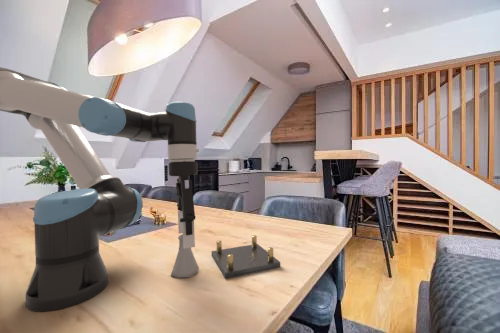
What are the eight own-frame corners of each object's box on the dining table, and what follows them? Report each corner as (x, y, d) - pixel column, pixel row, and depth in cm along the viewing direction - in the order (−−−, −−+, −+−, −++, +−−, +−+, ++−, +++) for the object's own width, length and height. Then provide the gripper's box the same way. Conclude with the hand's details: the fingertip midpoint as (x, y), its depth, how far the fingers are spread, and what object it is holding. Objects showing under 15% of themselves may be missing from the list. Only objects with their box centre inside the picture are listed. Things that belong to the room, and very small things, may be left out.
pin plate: (225, 278, 59) (224, 259, 59) (211, 255, 74) (211, 240, 73) (280, 267, 65) (280, 249, 65) (257, 248, 79) (257, 233, 79)
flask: (191, 280, 59) (190, 240, 58) (165, 277, 60) (164, 239, 60) (203, 267, 66) (202, 232, 65) (179, 265, 67) (178, 231, 67)
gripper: (205, 159, 52) (209, 252, 52) (191, 161, 75) (193, 226, 76) (170, 160, 49) (174, 258, 50) (166, 162, 73) (169, 229, 73)
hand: (186, 239), depth 63 cm, fingers open, 13 cm apart
